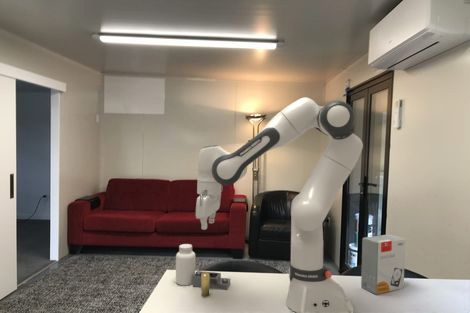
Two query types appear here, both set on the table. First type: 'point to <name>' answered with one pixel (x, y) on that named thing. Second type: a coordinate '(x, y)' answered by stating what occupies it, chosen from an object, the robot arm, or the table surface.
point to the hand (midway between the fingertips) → (208, 225)
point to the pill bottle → (185, 265)
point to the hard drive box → (382, 263)
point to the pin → (205, 284)
